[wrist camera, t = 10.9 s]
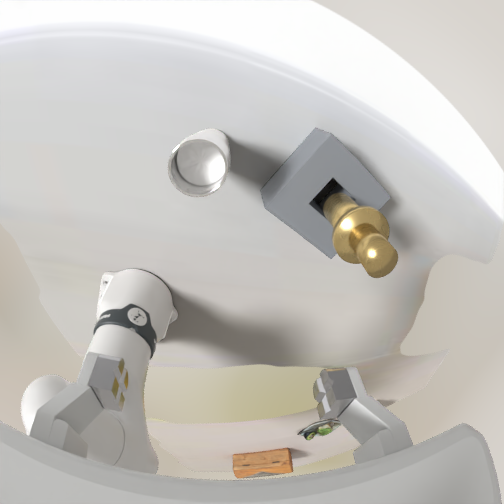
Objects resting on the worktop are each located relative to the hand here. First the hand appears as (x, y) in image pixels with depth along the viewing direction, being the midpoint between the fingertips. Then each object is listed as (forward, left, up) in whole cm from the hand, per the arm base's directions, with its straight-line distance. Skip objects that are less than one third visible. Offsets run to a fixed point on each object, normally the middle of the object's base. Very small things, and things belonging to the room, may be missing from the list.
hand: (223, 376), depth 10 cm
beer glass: (0, +4, -38) cm, 38 cm away
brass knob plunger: (+6, -14, -28) cm, 31 cm away
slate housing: (+6, -14, -37) cm, 40 cm away
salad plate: (-64, -94, -38) cm, 120 cm away
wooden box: (-108, -99, -38) cm, 151 cm away
